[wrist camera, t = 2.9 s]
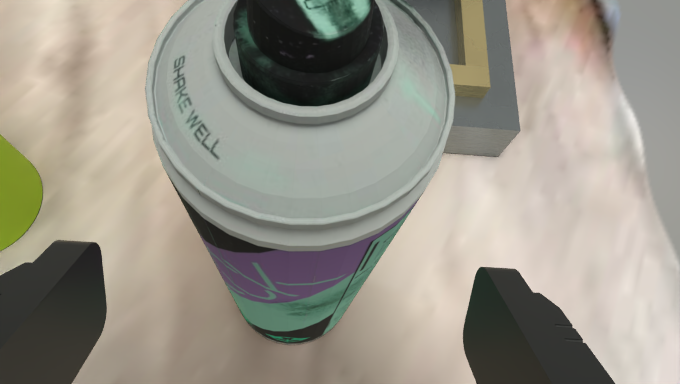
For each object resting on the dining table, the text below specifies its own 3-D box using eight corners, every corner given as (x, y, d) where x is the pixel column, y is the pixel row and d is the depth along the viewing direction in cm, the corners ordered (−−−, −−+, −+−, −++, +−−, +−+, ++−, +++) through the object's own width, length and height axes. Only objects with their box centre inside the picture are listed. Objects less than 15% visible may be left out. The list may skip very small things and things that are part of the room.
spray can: (273, 215, 26) (238, -223, 8) (367, 265, 26) (571, -76, 7) (214, 310, 24) (-21, 23, 6) (316, 367, 24) (419, 252, 5)
